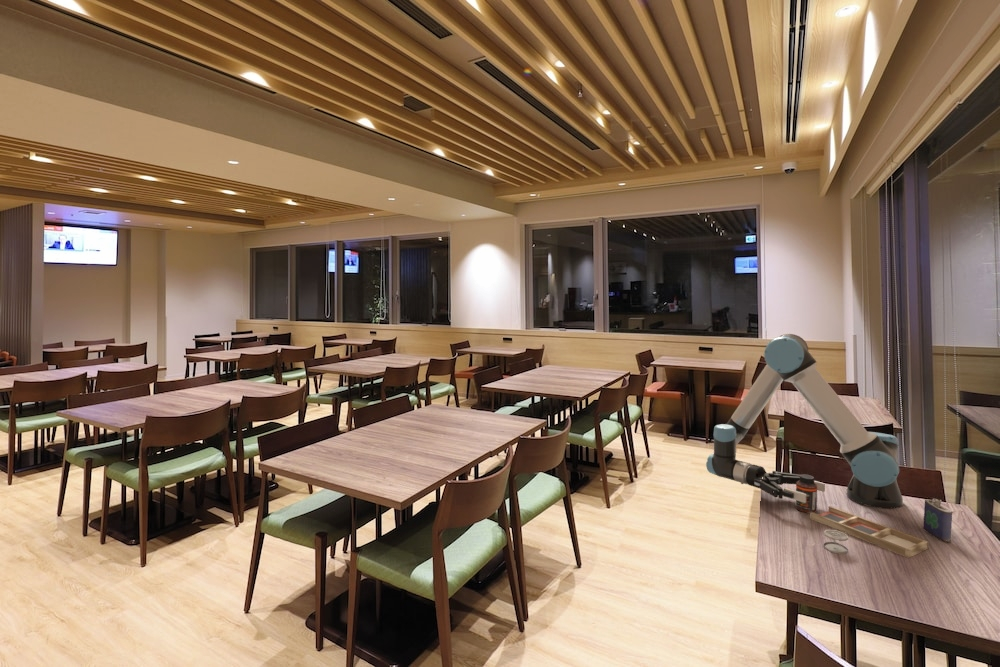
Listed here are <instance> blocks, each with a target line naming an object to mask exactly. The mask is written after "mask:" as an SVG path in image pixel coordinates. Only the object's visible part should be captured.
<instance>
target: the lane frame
mask: <svg viewBox="0 0 1000 667" xmlns="http://www.w3.org/2000/svg"><path fill="white" fill-rule="evenodd" d="M827 507H828V508H827V509H828V511H830V512H832V513H835V514H838V515H840V516H843V517H846V518H848V519H846V520H843V521H840V522H837V521H834V520H831V519H829V518H826V517H824V516H821V515H819V513H816V512H814V513H813V512H810V513H809V514H810V515H809V519H810V520H812V521H815V522H817V523H820V524H822V525H824V526H825V525H826V526H827V527H830V528H833V529H834V530H837V531H840V532H843V533H845V534H846V535H850V536H853V537H855V538H858V539H860V540H862V541H865V542H868V543H870V544H873V545H874V546H877V547H880V548H883V549H885V550H888V551H890V552H892V553H895V554H898V555H900V556H901V557H902V556H903V557H905V558H908V559H910V558H912V557H913V556H916V555H918V554H920V553H922V552H924V551H926V550H929V546H930V544H929V543H930V541H927V540H925V539H922V538H920V537H918V536H914V535H911V534H909V533H907V532H903V531H900V530H898V529H895V528H891V527H889V526H888V525H887V526H886V525H884V524H881V523H879V522H875V521H873V520H870V519H868V518H865V517H862V516H859V515H857V514H854V513H851V512H848V511H845V510H843V509H840V508H837V507H835V506H831V505H828V506H827ZM857 522H859V523H862V524H864V525H867V526H870V527H872V528H875V529H878V530H880V531H879V532H876V533H874V534H871V535H870V534H868V533H865V532H862V531H860V530H857V529H855V528H852V527H850V526H849V525H852V524H854V523H857ZM890 534H891V535H894V536H897V537H899V538H902V539H905V540H907V541H910V542H913V543H915V544H916V545H914V546H912V547H909V548H907V549H906V548H904V547H901V546H899V545H896V544H893V543H891V542H888V541H886V540H883V539H881V538H883V537H886V536H888V535H890Z"/></svg>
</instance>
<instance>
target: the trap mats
mask: <svg viewBox="0 0 1000 667" xmlns="http://www.w3.org/2000/svg"><path fill="white" fill-rule="evenodd" d="M818 515H821V516H824V517H826V518H829V519H831V520H834V521H837V522H840V521H843V520H846V519H848V518H846V517H843V516H840V515H838V514H835V513H832V512H830V511H825V512H822V513H820V514H819V513H818ZM849 526H850V527H852V528H855V529H857V530H860V531H862V532H865V533H868V534H870V535H871V534H874V533H876V532H879V531H880V530H878V529H875V528H872V527H870V526H867V525H864V524H862V523H859V522H857V523H854V524H852V525H849Z"/></svg>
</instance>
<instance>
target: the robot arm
mask: <svg viewBox="0 0 1000 667" xmlns="http://www.w3.org/2000/svg"><path fill="white" fill-rule="evenodd" d="M763 356H764V361H765V363H766V365H765V366H764V368H763V369H762V370H761V372H760V373H759V375H758V376H757V378H756V379H755V381H754V383H753V384H752V386H751V387H750V388H749V389H748V392H747V393H746V395H745V396H744V397H743V399H742V400H741V402H740V403H739V405H738V406H737V407H736V409H735V411H734V412H733V414H732V415H731V417H730V418H729V419H728V421H727V422H726V423H725V424H724V423H721V424H716V425H715V426H714V428H713V453H711V454H710V455H709V456H708V457H707V460H706V464H705V466H706V470H707V471H708V472H709V473H710V474H711V475H714V476H717V477H718V478H724V479H728V480H731V481H734V482H738V483H740V484H741V485H744V484H745V485H748V486H751V487H754V488H757V489H760V490H761V491H764V492H765V493H767V494H769V495H771V496H773V497H774V498H778V499H783V497H785V498H787V499H791V500H794V501H796V500H797V501H800V502H804V503H806V494H804V493H801V492H798V491H796V490H793V489H790V488H786V487H783V488H782V487H781V486H782V485H783V484H784V485H785V484H786V485H796V483H797V481H799V480H800V475H801V474H798V473H797V474H796V473H788V472H781V471H776V470H772V472H767V471H766V469H765V468H764V467H763V466H761V465H757V464H752V463H750V462H746V461H742V460H738V459H736V458H737V457H736V454H737V451H736V449H737V445H738V444H739V443H741V441H743V439H744V438H745V436H746V435H747V433H748V431H749V430H750V428H751V427H752V426H753V424H754V422H755V421H756V420H757V418H758V417H759V415H760V414H761V412H762V411H763V410H764V408H765V407H766V405H767V404H768V403H769V401H770V400H771V398H772V397H773V396H774V394H775V393H776V391H777V390H778V388H779V387H780V385H781V384H782V383H783V382H787V383H791V384H792V385H793V386H794V388H796V390H797V392H799V394H800V395H801V396H802V398H803V399H804V400H805V402H807V404H808V405H809V407H810V408H811V409H812V410H813V412H814V413H815V414H816V415H817V417H818V418H819V419H820V420H821V422H822V423H823V424H824V425H825V427H826V428H827V429H828V430H829V432H830V433H831V434H832V435H833V437H834V438H835V439H836V440H837V442H838V443H839V444H840V447H839V448H840V449H839V452H840V454H841V455H842V457H843V458H844V459H845V461H846V462H847V463H848V465H849V466H850V469H851V472H852V474H853V475H852V477H851V479H850V481H849V483H848V485H847V489H846V496H847V498H849V499H850V500H852V501H854V502H856V503H858V504H861V505H864V506H867V507H871V508H877V509H878V508H879V509H887V510H894V509H899V508H901V507H903V501H904V500H903V495H902V492H901V490H900V487H899V485H898V481H897V480H898V479H897V478H898V476H899V473H900V465H899V459H898V458H899V455H898V453H899V452H898V447H899V445H900V444H899V440H898V438H897V436H895V435H893V434H890V433H889V434H887V433H882V432H877V431H876V432H875V431H867V429H866V428H865V427H864V426H863V424H862V423H861V422H860V421H859V419H858V418H857V417H856V416H855V415H854V413H853V412H852V411H851V409H849V407H848V406H847V405H846V404H845V403H844V401H843V399H841V398H840V397H839V395H838V394H837V393H836V391H835V390H834V389H833V388H832V387H831V385H830V384H829V383H828V382H827V380H826V379H825V378H824V377H823V376H822V374H821V372H819V371H818V369H817V366H818V362H817V361H816V359H815V358H814V356H813V355H812V354H811V353H810V351H809V346H808V344H807V342H806V340H804V339H803V338H802V337H801V336H799V335H797V334H793V333H785V334H782V335H779V336H777V337H775V338H773V339H771V341H769V342H768V343H767V345H766V346H765V349H764V354H763ZM762 477H763V479H762ZM814 483H815V484H816V485H817V491H820V492H822V493H823V492H824V493H825V492H826V483H824V482H820V481H818V480H814Z"/></svg>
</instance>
